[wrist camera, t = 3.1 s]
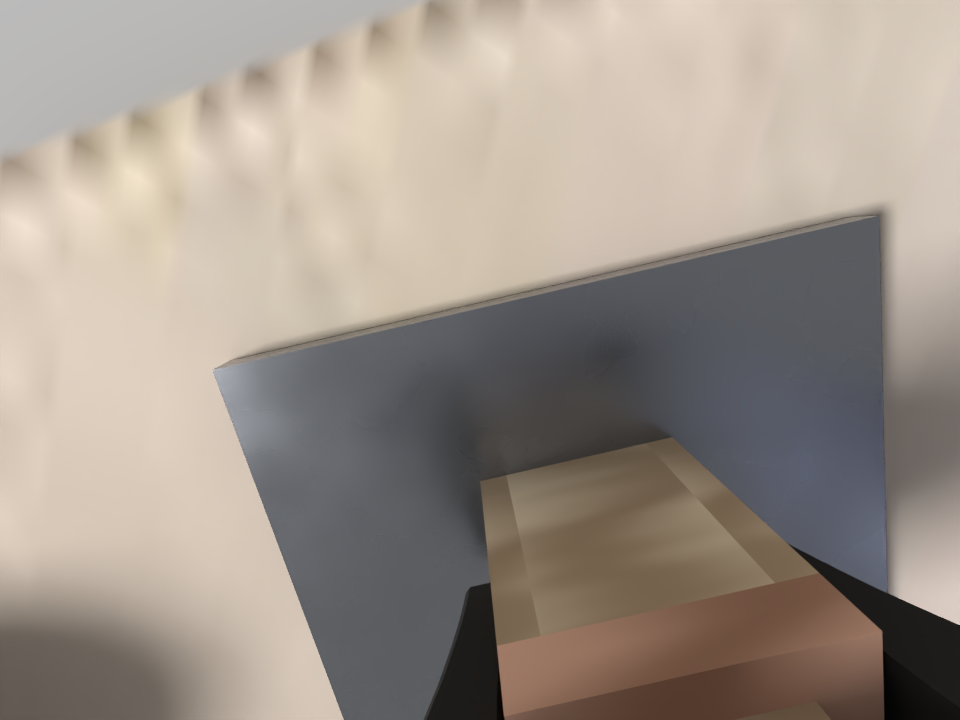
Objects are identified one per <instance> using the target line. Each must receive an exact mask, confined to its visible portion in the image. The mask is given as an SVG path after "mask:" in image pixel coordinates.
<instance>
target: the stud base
mask: <svg viewBox="0 0 960 720" xmlns="http://www.w3.org/2000/svg"><path fill="white" fill-rule="evenodd" d="M213 373H214V375H215V378H216V381H217V383H218V386H219V389H220V391H221V394H222V396H223V399H224V402H225V404H226V407H227V410H228V412H229V415H230V418H231V420H232V423H233V426H234V428H235V431H236V434H237V436H238V439H239V442H240V444H241V447H242V450H243V452H244V455H245V458H246V460H247V463H248V466H249V468H250V471H251V474H252V476H253V479H254V482H255V484H256V487H257V490H258V492H259V495H260V498H261V500H262V503H263V505H264V508H265V511H266V513H267V516H268V519H269V521H270V524H271V527H272V529H273V532H274V535H275V537H276V540H277V543H278V545H279V548H280V551H281V553H282V556H283V559H284V561H285V564H286V567H287V569H288V572H289V575H290V577H291V580H292V583H293V585H294V588H295V591H296V593H297V596H298V599H299V601H300V604H301V607H302V609H303V612H304V615H305V617H306V620H307V622H308V625H309V628H310V630H311V633H312V636H313V638H314V641H315V644H316V646H317V649H318V652H319V654H320V657H321V660H322V662H323V665H324V668H325V670H326V673H327V676H328V678H329V681H330V684H331V686H332V689H333V692H334V694H335V697H336V700H337V702H338V705H339V708H340V710H341V713H342V716H343V718H344V720H424V717H425V715H426V713H427V710H428V708H429V705H430V703H431V700H432V698H433V696H434V693H435V691H436V688H437V686H438V683H439V680H440V678H441V675H442V672H443V669H444V666H445V663H446V660H447V658H448V655H449V652H450V649H451V646H452V643H453V640H454V636H455V633H456V630H457V627H458V623H459V620H460V616H461V612H462V608H463V604H464V599H465V594H466V592H467V591H468V589H469V588H470V587H473V586H477V585H482V584H486V583H490V573H489V563H488V553H487V543H486V533H485V523H484V513H483V503H482V494H481V484H480V481H483V480H487V479H492V478H496V477H501V476H505V475H509V474H514V473H518V472H522V471H527V470H531V469H536V468H540V467H544V466H549V465H553V464H557V463H562V462H566V461H570V460H575V459H579V458H584V457H588V456H592V455H597V454H601V453H605V452H610V451H614V450H618V449H623V448H627V447H632V446H636V445H640V444H645V443H649V442H653V441H658V440H662V439H667V438H671V437H672V438H674V439H675V440H676V441H677V442H678V443H679V444H680V445H681V446H682V447H683V448H684V449H685V450H687V451H688V452H689V453H690V454H691V455H692V456H693V457H694V458H695V459H696V460H697V461H698V462H700V463H701V464H702V465H703V466H704V467H705V468H706V469H707V470H708V471H709V472H710V473H711V474H713V475H714V476H715V477H716V478H717V479H718V480H719V481H720V482H721V483H722V484H723V485H724V486H726V487H727V488H728V489H729V490H730V491H731V492H732V493H733V494H734V495H735V496H736V497H737V498H739V499H740V500H741V501H742V502H743V503H744V504H745V505H746V506H747V507H748V508H749V509H750V510H752V511H753V512H754V513H755V514H756V515H757V516H758V517H759V518H760V519H761V520H762V521H763V522H765V523H766V524H767V525H768V526H769V527H770V528H771V529H772V530H773V531H774V532H775V533H776V534H778V535H779V536H780V537H781V538H782V539H783V540H784V541H785V542H786V543H788V544H790V545H792V546H793V547H795V548H797V549H799V550H801V551H803V552H805V553H807V554H809V555H811V556H813V557H815V558H817V559H819V560H821V561H823V562H825V563H827V564H829V565H831V566H832V567H834V568H836V569H838V570H840V571H842V572H844V573H846V574H849V575H851V576H853V577H855V578H857V579H859V580H861V581H863V582H865V583H867V584H869V585H871V586H873V587H875V588H877V589H879V590H882V591H884V592H886V593H887V563H886V515H885V467H884V419H883V371H882V324H881V276H880V228H879V216H861V217H847V218H843V219H839V220H834V221H830V222H826V223H821V224H817V225H813V226H808V227H804V228H800V229H795V230H791V231H787V232H782V233H778V234H774V235H770V236H765V237H761V238H757V239H752V240H748V241H744V242H739V243H735V244H731V245H726V246H722V247H718V248H713V249H709V250H705V251H701V252H696V253H692V254H688V255H683V256H679V257H675V258H670V259H666V260H662V261H657V262H653V263H649V264H645V265H640V266H636V267H632V268H627V269H623V270H619V271H614V272H610V273H606V274H601V275H597V276H593V277H588V278H584V279H580V280H576V281H571V282H567V283H563V284H558V285H554V286H550V287H545V288H541V289H537V290H532V291H528V292H524V293H519V294H515V295H511V296H507V297H502V298H498V299H494V300H489V301H485V302H481V303H476V304H472V305H468V306H463V307H459V308H455V309H450V310H446V311H442V312H438V313H433V314H429V315H425V316H420V317H416V318H412V319H407V320H403V321H399V322H394V323H390V324H386V325H381V326H377V327H373V328H369V329H364V330H360V331H356V332H351V333H347V334H343V335H338V336H334V337H330V338H325V339H321V340H317V341H312V342H308V343H304V344H300V345H295V346H291V347H287V348H282V349H278V350H274V351H269V352H265V353H261V354H256V355H252V356H248V357H244V358H239V359H235V360H231V361H228V362H226V363H225V364H223V365H221V366H219V367H217V368H215V369H214V370H213Z"/></svg>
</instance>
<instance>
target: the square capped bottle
mask: <svg viewBox="0 0 960 720" xmlns="http://www.w3.org/2000/svg"><path fill="white" fill-rule="evenodd" d="M480 484H481V494H482V503H483V513H484V523H485V533H486V543H487V553H488V563H489V573H490V583H491V593H492V603H493V612H494V622H495V632H496V642H497V652H498V662H499V672H500V682H501V692H502V702H503V712H504V718H505V720H884V681H883V640H882V630H880V629H879V628H878V627H877V626H876V625H875V624H874V623H873V622H872V621H871V620H870V619H869V618H867V617H866V616H865V615H864V614H863V613H862V612H861V611H860V610H859V609H858V608H857V607H856V606H854V605H853V604H852V603H851V602H850V601H849V600H848V599H847V598H846V597H845V596H844V595H843V594H841V593H840V592H839V591H838V590H837V589H836V588H835V587H834V586H833V585H832V584H831V583H830V582H828V581H827V580H826V579H825V578H824V577H823V576H822V575H821V574H820V573H819V572H818V571H817V570H815V569H814V568H813V567H812V566H811V565H810V564H809V563H808V562H807V561H806V560H805V559H804V558H802V557H801V556H800V555H799V554H798V553H797V552H796V551H795V550H794V549H793V548H792V547H791V546H789V545H788V544H787V543H786V542H785V541H784V540H783V539H782V538H781V537H780V536H779V535H778V534H776V533H775V532H774V531H773V530H772V529H771V528H770V527H769V526H768V525H767V524H766V523H765V522H763V521H762V520H761V519H760V518H759V517H758V516H757V515H756V514H755V513H754V512H753V511H752V510H750V509H749V508H748V507H747V506H746V505H745V504H744V503H743V502H742V501H741V500H740V499H739V498H737V497H736V496H735V495H734V494H733V493H732V492H731V491H730V490H729V489H728V488H727V487H726V486H724V485H723V484H722V483H721V482H720V481H719V480H718V479H717V478H716V477H715V476H714V475H713V474H711V473H710V472H709V471H708V470H707V469H706V468H705V467H704V466H703V465H702V464H701V463H700V462H698V461H697V460H696V459H695V458H694V457H693V456H692V455H691V454H690V453H689V452H688V451H687V450H685V449H684V448H683V447H682V446H681V445H680V444H679V443H678V442H677V441H676V440H675V439H674V438H672V437H671V438H667V439H662V440H658V441H653V442H649V443H645V444H640V445H636V446H632V447H627V448H623V449H618V450H614V451H610V452H605V453H601V454H597V455H592V456H588V457H584V458H579V459H575V460H570V461H566V462H562V463H557V464H553V465H549V466H544V467H540V468H536V469H531V470H527V471H522V472H518V473H514V474H509V475H505V476H501V477H496V478H492V479H487V480H483V481H480Z"/></svg>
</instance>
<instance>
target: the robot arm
mask: <svg viewBox="0 0 960 720" xmlns="http://www.w3.org/2000/svg"><path fill="white" fill-rule="evenodd" d="M787 544H788V543H787ZM788 545H789V546H791V547H792V548H793V549H794V550H795V551H796V552H797V553H798V554H799V555H800V556H801V557H802V558H804V559H805V560H806V561H807V562H808V563H809V564H810V565H811V566H812V567H813V568H814V569H815V570H817V571H818V572H819V573H820V574H821V575H822V576H823V577H824V578H825V579H826V580H827V581H828V582H830V583H831V584H832V585H833V586H834V587H835V588H836V589H837V590H838V591H839V592H840V593H841V594H843V595H844V596H845V597H846V598H847V599H848V600H849V601H850V602H851V603H852V604H853V605H854V606H856V607H857V608H858V609H859V610H860V611H861V612H862V613H863V614H864V615H865V616H866V617H867V618H869V619H870V620H871V621H872V622H873V623H874V624H875V625H876V626H877V627H878V628H879V629H880V630H882V640H883V681H884V720H960V625H958V624H955V623H953V622H951V621H948V620H946V619H944V618H941V617H939V616H937V615H935V614H932V613H930V612H928V611H926V610H923V609H921V608H919V607H917V606H914V605H912V604H910V603H908V602H905V601H903V600H901V599H899V598H896V597H894V596H892V595H890V594H888V593H886V592H884V591H882V590H879V589H877V588H875V587H873V586H871V585H869V584H867V583H865V582H863V581H861V580H859V579H857V578H855V577H853V576H851V575H849V574H846V573H844V572H842V571H840V570H838V569H836V568H834V567H832V566H831V565H829V564H827V563H825V562H823V561H821V560H819V559H817V558H815V557H813V556H811V555H809V554H807V553H805V552H803V551H801V550H799V549H797V548H795V547H793V546H792V545H790V544H788ZM424 720H505V718H504V712H503V702H502V692H501V682H500V672H499V662H498V652H497V642H496V632H495V622H494V612H493V603H492V593H491V583H486V584H482V585H477V586H473V587H470V588H469V589H468V591H467V592H466V594H465V599H464V604H463V608H462V612H461V616H460V620H459V623H458V627H457V630H456V633H455V636H454V640H453V643H452V646H451V649H450V652H449V655H448V658H447V660H446V663H445V666H444V669H443V672H442V675H441V678H440V680H439V683H438V686H437V688H436V691H435V693H434V696H433V698H432V700H431V703H430V705H429V708H428V710H427V713H426V715H425V717H424Z"/></svg>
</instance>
